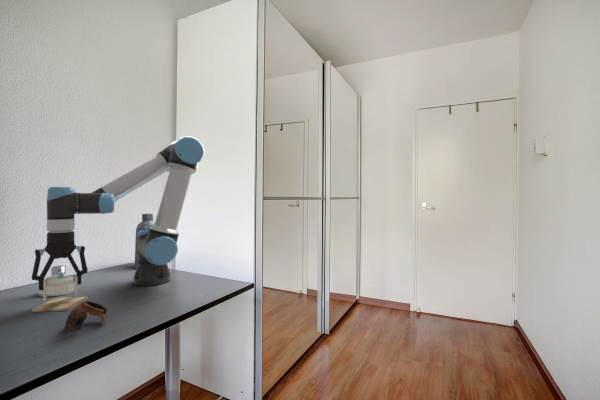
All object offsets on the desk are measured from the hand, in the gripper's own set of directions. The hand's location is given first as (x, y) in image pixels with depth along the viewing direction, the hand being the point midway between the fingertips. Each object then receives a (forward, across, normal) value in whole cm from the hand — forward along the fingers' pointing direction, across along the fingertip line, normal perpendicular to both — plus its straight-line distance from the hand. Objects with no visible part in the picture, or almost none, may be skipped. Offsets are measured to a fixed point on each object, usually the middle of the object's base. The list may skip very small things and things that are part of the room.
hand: (60, 296), depth 105 cm
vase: (+3, -39, -40) cm, 56 cm away
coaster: (+3, 0, 0) cm, 3 cm away
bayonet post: (+3, -1, -18) cm, 18 cm away
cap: (-2, 0, 0) cm, 2 cm away
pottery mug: (+3, -4, +27) cm, 27 cm away
